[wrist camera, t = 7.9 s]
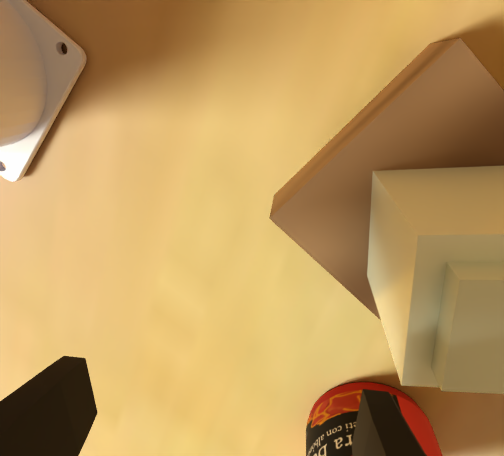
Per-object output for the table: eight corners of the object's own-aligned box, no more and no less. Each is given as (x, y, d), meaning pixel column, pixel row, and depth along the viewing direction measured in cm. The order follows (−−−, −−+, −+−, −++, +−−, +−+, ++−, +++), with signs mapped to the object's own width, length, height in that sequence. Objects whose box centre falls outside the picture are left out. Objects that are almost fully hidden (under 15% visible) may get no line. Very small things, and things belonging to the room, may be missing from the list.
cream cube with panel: (366, 275, 16) (409, 410, 9) (372, 171, 14) (429, 251, 8) (483, 275, 15) (611, 420, 9) (504, 165, 13) (684, 248, 7)
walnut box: (274, 192, 18) (269, 218, 15) (426, 44, 15) (460, 38, 12) (391, 301, 20) (409, 346, 17) (551, 191, 17) (610, 220, 13)
